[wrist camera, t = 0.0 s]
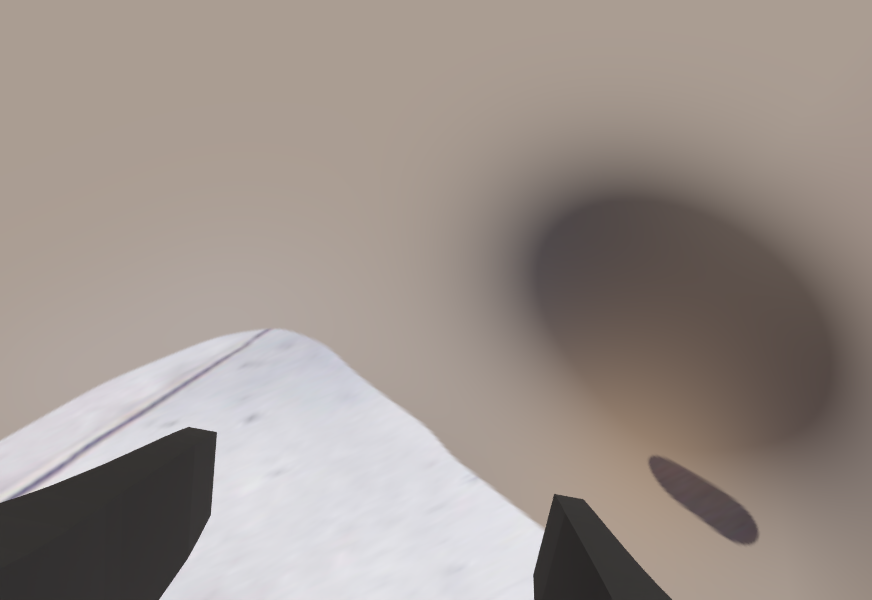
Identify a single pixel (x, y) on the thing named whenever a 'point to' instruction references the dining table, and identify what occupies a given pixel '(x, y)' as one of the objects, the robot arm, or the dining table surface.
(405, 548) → the dining table surface
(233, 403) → the dining table surface
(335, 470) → the dining table surface
